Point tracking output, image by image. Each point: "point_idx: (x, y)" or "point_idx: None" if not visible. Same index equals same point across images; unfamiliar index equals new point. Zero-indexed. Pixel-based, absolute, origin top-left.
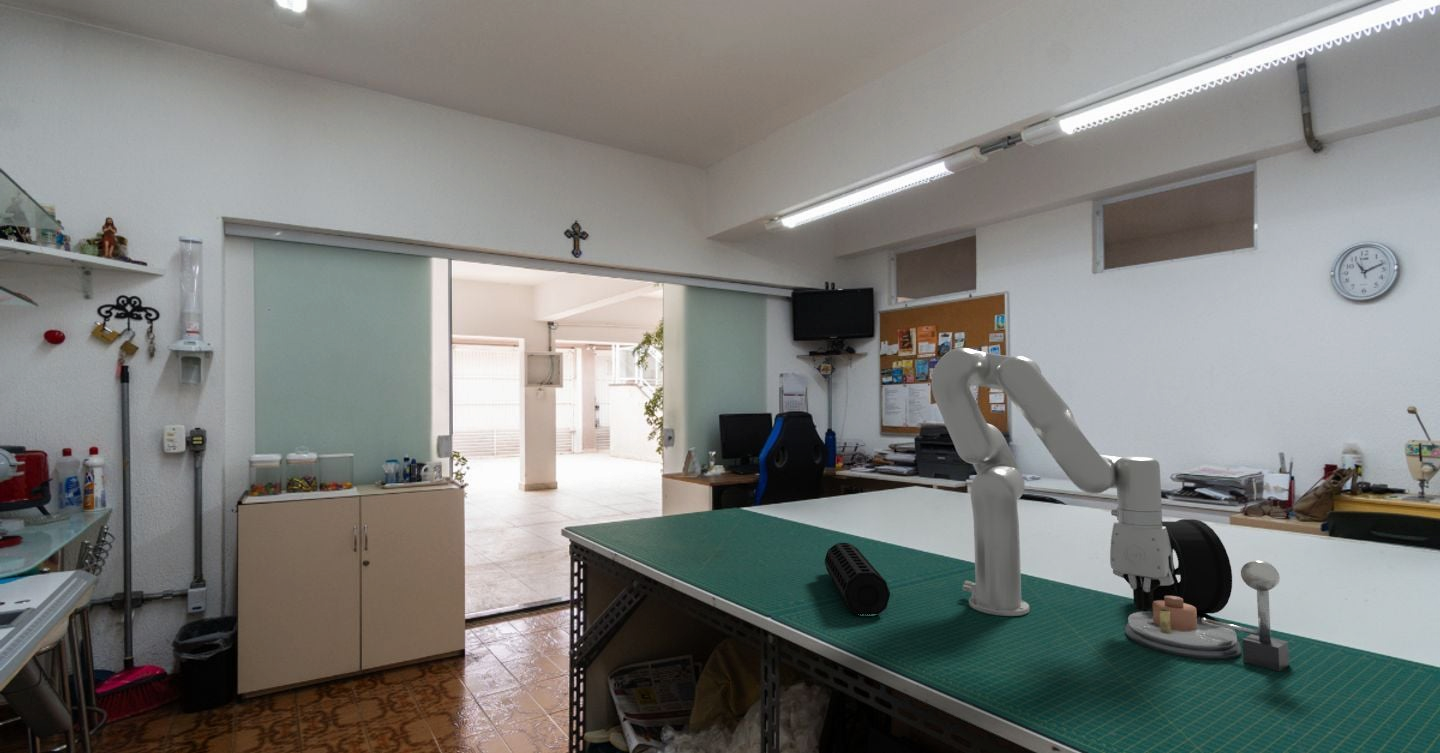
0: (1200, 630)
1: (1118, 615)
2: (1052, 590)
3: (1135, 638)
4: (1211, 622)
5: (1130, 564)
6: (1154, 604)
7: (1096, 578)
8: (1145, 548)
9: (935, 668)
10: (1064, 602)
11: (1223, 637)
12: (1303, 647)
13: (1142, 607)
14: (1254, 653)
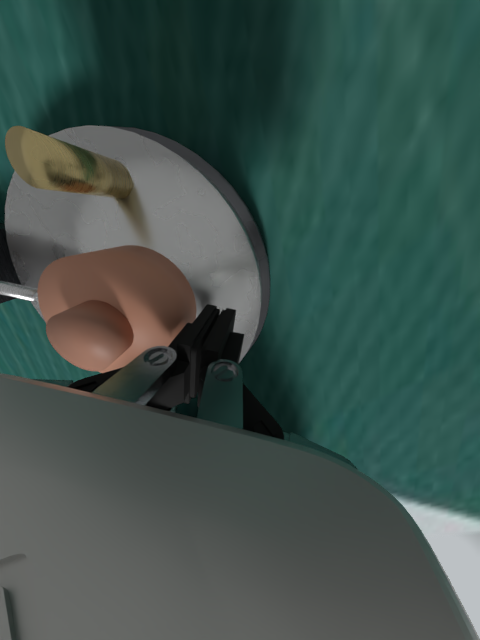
0: None
1: (307, 380)
2: (464, 467)
3: (221, 175)
4: (24, 288)
5: (106, 590)
6: (150, 298)
7: None
8: None
9: None
10: (441, 407)
11: (27, 263)
12: (51, 378)
13: (210, 309)
14: None
